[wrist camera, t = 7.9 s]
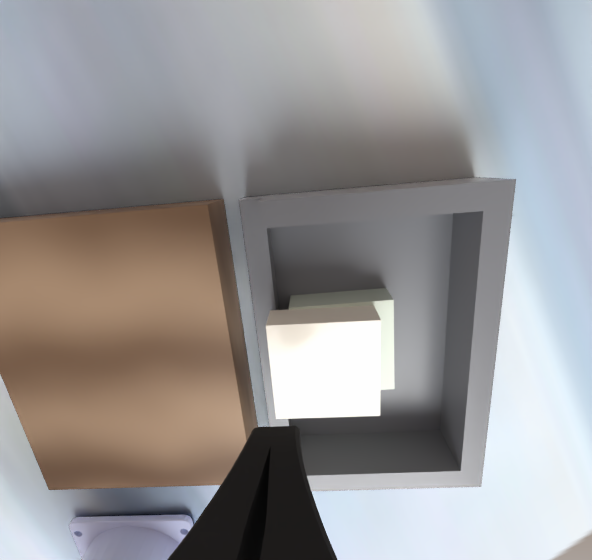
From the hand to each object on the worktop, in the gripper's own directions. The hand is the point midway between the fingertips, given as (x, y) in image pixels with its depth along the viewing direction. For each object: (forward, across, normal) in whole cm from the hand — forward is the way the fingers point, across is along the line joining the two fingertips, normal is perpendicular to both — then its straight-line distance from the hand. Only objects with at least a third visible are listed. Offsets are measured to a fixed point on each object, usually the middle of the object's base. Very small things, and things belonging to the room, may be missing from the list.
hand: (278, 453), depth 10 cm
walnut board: (+8, +8, 0) cm, 11 cm away
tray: (+7, -4, 0) cm, 8 cm away
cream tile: (+6, -2, 0) cm, 6 cm away
